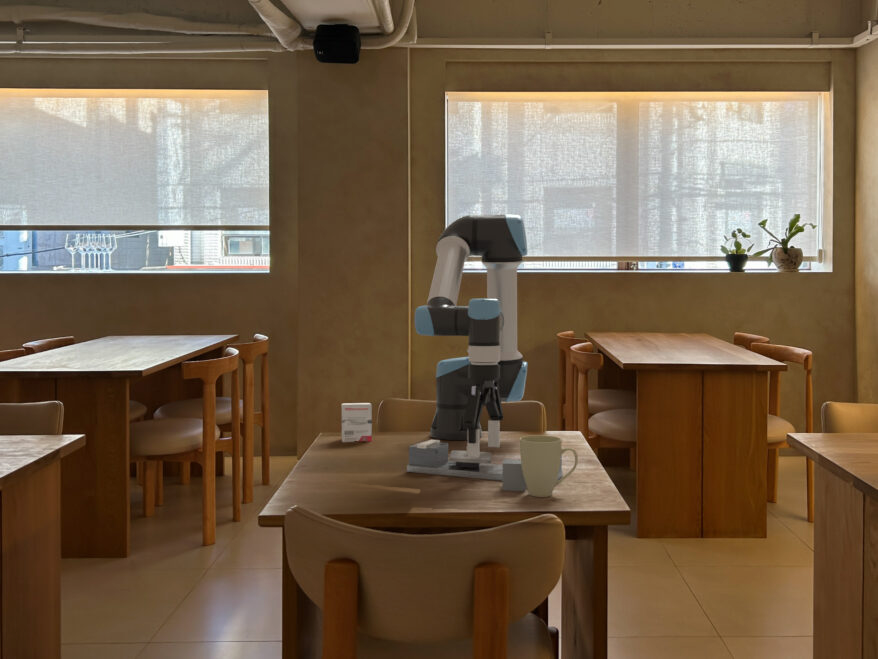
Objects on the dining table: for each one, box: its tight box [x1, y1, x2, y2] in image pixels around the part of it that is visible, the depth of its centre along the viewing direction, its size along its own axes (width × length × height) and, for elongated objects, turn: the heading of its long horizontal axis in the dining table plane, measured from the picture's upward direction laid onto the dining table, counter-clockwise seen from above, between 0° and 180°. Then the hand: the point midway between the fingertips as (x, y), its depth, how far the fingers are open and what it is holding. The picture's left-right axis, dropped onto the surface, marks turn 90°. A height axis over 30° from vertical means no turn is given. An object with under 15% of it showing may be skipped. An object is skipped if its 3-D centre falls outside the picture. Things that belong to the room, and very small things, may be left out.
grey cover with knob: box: [448, 445, 492, 468], centre depth 202 cm, size 10×10×5 cm
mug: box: [519, 434, 579, 498], centre depth 181 cm, size 11×10×12 cm
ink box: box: [341, 402, 373, 443], centre depth 243 cm, size 8×5×12 cm, turn 99°
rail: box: [406, 439, 564, 481], centre depth 202 cm, size 10×36×7 cm, turn 66°
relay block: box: [501, 458, 527, 492], centre depth 187 cm, size 5×5×6 cm
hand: (483, 451), depth 202 cm, fingers open, 13 cm apart
